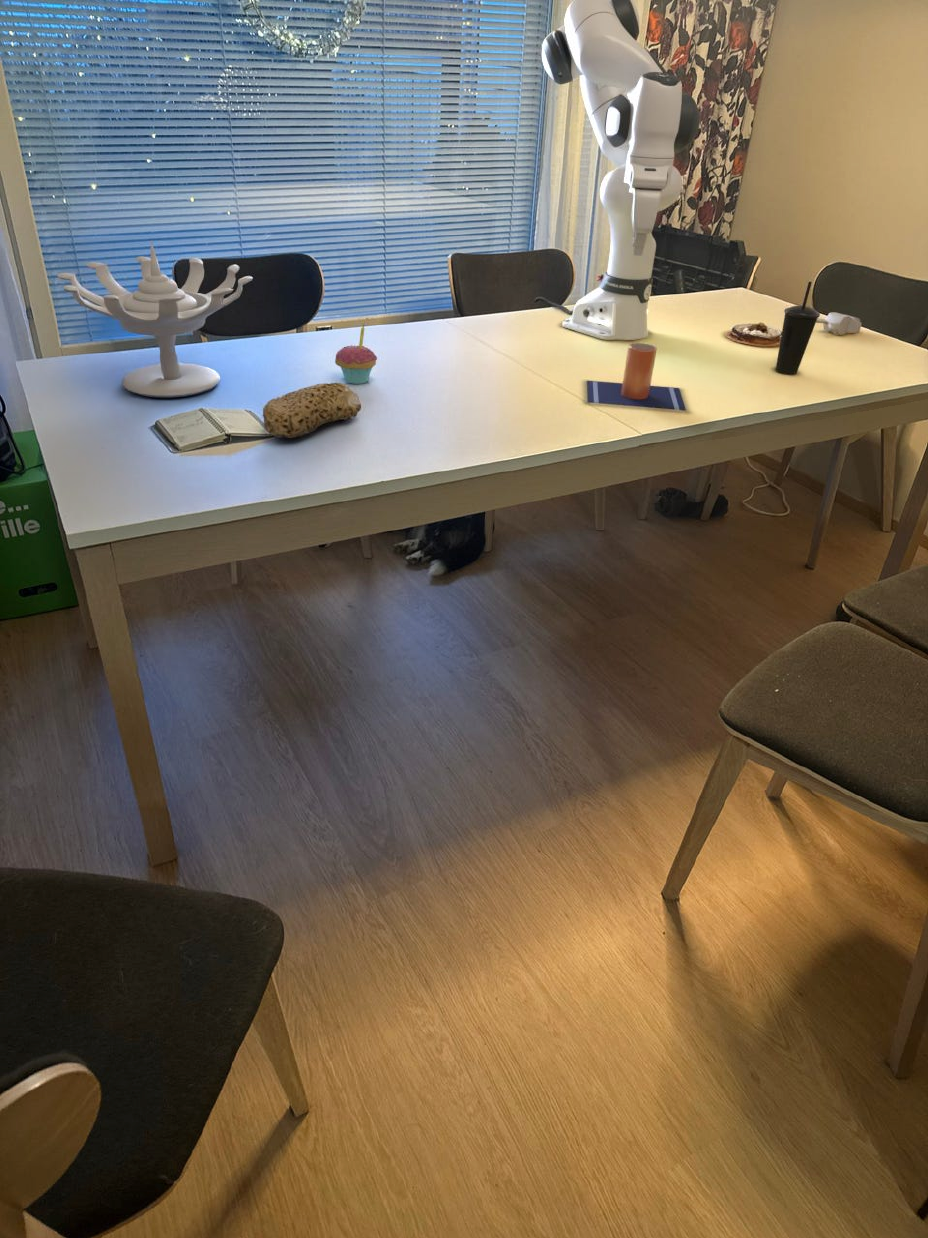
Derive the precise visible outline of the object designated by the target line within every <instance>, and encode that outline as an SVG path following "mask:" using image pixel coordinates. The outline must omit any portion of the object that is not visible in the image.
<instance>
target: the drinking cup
mask: <svg viewBox="0 0 928 1238" xmlns="http://www.w3.org/2000/svg"><path fill="white" fill-rule="evenodd" d="M812 283H813V282H812V281H808V283H807V286H806V290H805V294H804V298H803V301H802V304H799V305H793V306H790V307H786V308H785V309H784V310H783V313H784V318H783V323H782V329H781V332H782V335H781V336H780V337H781V341H780V345H778V351H777V352H778V354H777V358H776V365H775V372H777V373H778V374H781V375H787V376H795V375H797V374H798V371H799V368H800V366H801V363H802V361H803V358H804V356H805V353H806V349H807V347H808V344H809V342H810V339H811V336H812V334H813V331H814V330H815V329H814V328H815V326H816V324H817V323H816V321H817V318H820V315H821V313H820V312H819V311H817V310H816V309H814V308H813V307H811V306H809V305H807V302H808V298H809V295H810V290H811V287H812Z"/></svg>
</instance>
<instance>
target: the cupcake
mask: <svg viewBox="0 0 928 1238" xmlns="http://www.w3.org/2000/svg"><path fill="white" fill-rule="evenodd" d="M359 335H360V336H359V343H358V345H347V346H344V347H341V349H339V350H338V351H337V352H336V354H335V359H334V364H335V365H336V366H338V367H340V369H341V371H342V374H343V377H344V381H345V382H346V383H349V384H353V385H362V384H366V383H368V381H369V379H370V375H371V372H372V369H373V368H374V367H375V366H376V364H377V360H378V357H377V355H376V354H375V352H374V351H373V350H371V349H370V348H368V347H366V346H364V345H363V343H364V335H365V323H363V324H362V326H361V328H360V334H359Z"/></svg>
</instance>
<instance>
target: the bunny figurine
mask: <svg viewBox="0 0 928 1238" xmlns="http://www.w3.org/2000/svg"><path fill="white" fill-rule="evenodd" d="M815 324H823V325H822V326H823V330H825V332H826V333H830V332H831V333H833V335H835V336H838V335H845V334H846V333H847V334H848V333H850V334H855V333H859V332H860V331H861V327H862V326H863V325H862V322H861V319H860V318H859V317H855V316H851V315H848V314H843V313H839V312H834V311H832V312H831V311H830V312H829V313H828V315H827V316H826V318H825V319H824V318H820V317H818V318H817V321H816V323H815Z"/></svg>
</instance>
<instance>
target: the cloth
mask: <svg viewBox="0 0 928 1238" xmlns="http://www.w3.org/2000/svg"><path fill="white" fill-rule="evenodd" d="M622 383H623V382H622ZM622 383H621V382H609V381H597V380H586V396H587V397H586V398H587V399H586V400H587V403H589V404H601V405H613V406H625V407H637V408H648V409H660V410H671V411H685V412H686V411H687V408H686V405H685V402H684V399H683V395H682V394H681V389H680V388H679V387H672V386H661V385H660V386H658V385H650V391H649V396H648V398H646V399H640V400H637V399H630V398H626V397H624V396H622V395H621V389H622Z"/></svg>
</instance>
